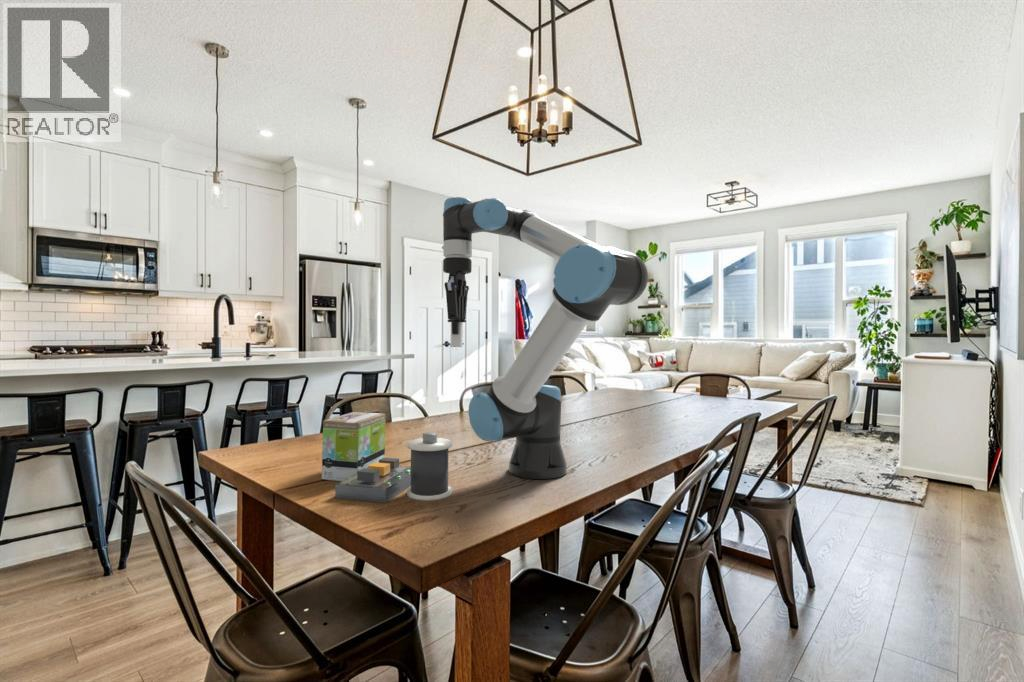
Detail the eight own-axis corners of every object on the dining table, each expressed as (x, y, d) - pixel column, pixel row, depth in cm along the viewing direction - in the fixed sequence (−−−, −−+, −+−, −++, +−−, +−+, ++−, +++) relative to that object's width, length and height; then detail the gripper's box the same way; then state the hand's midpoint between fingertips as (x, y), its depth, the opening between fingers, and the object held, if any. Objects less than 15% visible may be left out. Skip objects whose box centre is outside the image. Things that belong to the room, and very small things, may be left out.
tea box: (358, 483, 124) (358, 422, 124) (320, 480, 126) (320, 420, 126) (386, 466, 139) (386, 412, 138) (351, 464, 141) (351, 410, 140)
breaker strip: (418, 480, 127) (418, 467, 127) (385, 503, 110) (385, 487, 110) (373, 476, 130) (373, 463, 129) (335, 498, 113) (335, 483, 113)
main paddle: (390, 472, 121) (390, 463, 121) (383, 475, 118) (383, 467, 118) (374, 470, 122) (374, 462, 122) (367, 474, 119) (367, 465, 119)
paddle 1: (379, 478, 116) (379, 469, 116) (373, 481, 113) (373, 472, 113) (363, 477, 117) (363, 468, 117) (357, 480, 114) (357, 471, 114)
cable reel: (457, 488, 121) (458, 430, 120) (442, 502, 111) (442, 439, 111) (417, 484, 123) (418, 428, 123) (399, 498, 113) (399, 436, 113)
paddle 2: (399, 466, 126) (399, 458, 125) (394, 469, 123) (394, 461, 123) (383, 465, 126) (384, 457, 126) (378, 468, 124) (378, 460, 124)
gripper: (452, 261, 144) (451, 345, 145) (434, 255, 132) (434, 347, 132) (478, 260, 143) (477, 346, 143) (462, 254, 130) (462, 348, 131)
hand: (456, 346), depth 138 cm, fingers closed
